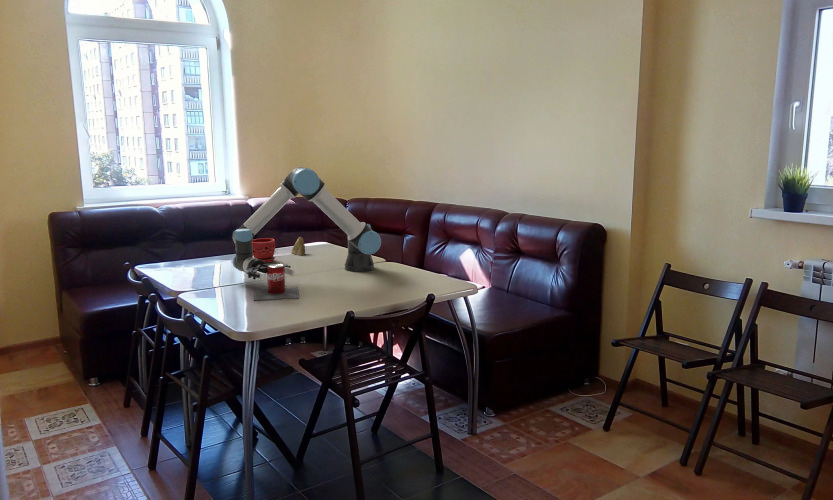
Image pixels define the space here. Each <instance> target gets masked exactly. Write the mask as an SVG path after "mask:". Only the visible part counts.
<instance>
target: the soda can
mask: <svg viewBox="0 0 833 500" xmlns="http://www.w3.org/2000/svg"><path fill="white" fill-rule="evenodd" d="M267 265H268V267H267V273H266V279H267V289H268V293H269V294H271V295H280V294H284V293H285V288H286V277H285V275H286V274H285V267H284V265H285V264H282V263H280V264H279V263H272V264H267Z"/></svg>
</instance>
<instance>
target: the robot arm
mask: <svg viewBox="0 0 833 500" xmlns="http://www.w3.org/2000/svg"><path fill="white" fill-rule="evenodd" d="M298 195H301V197H303V199H305V200H306V202H312V203H313V204H314V205H316V207H318V209H320V210H321V211H322V212H323V213H324V214H325V215H326V216H328V219H331V221H332V222H333V223H334V224H335V225H337V226H338V227H339V229H341V230H342V231H343V232H344V234H346V235H347V256H346V259H345V261H344V270H346V271H348V272H369V271H373V270H374V269H375V262H374V259H373V256H372V255H375V254H376V252H378V251H379V250H380V248H381V245H382V239H381V236H380V235H379V233H378V232H376V231H374V230H373V229H372V226H371V224H369V223H366V222H364V221H362V222H361V221H359V220H358V218H357V217H355V215H353V214H352V213H351V212H350V211H349V210H348V209H347V208H346V207H345V206H344V205H343V204H342V203H341V202H340V201H339V200H338V199H337V198H336V197H335V196H333V194H332V193H331V192H330V191H328V189H326V183H325V182H324V181H323V180H322V179H321V178H320V177H319V175H318V173H317V172H316V171H315V170H313V169H311V168H308V167H302V166H301V167H299V166H298V167H295V168H293V169H292V170H291V171H290V172H289V173H288V174H287V176H286V177H285V178H284V179H283V180H282V181H281V182H280V183H279V187H278V188H277V189H276V190H275V191H274V192H273V193H272V194H271V195H270V196H269V197H268V198H267V199H266V201H264V202H263V203H262V204H261V206H259V207H258V208H257V210H256V211H255V212H253V214H251V215H250V217H249V218H248V219H247V220H246V221H245V222H243V224H242V225H240V226H239V228H237V229H236V230H234V231H233V232H232V236H231V237H232V241H233V243H234V245H235V255H234V256H233V259H232V266H233V267H234V268H235V269H236V270H238V271H239V272H244V273H246V274H247V278H248V279H251V278H252V280H256V279H259V280H261V281H266V279H267V278H266V274H267V267H268V265H269V264H268V263H265V262H264V261H262V260H260V259H257V258H254V257H253V249H252V240H253V239H254V237H255V235H257V234H258V232H260V231H261V229H262V228H264V227H265V225H266V224H267V223H269V221H271V219H273V217H275V215H276V214H277V213H279V211H280V210H281V209H282V208H283V207H284V206H285V205H286V204H287V203H288V202H289V201H290V200H291V199H295V198H296V197H297V196H298ZM283 265H284V267H285V275H288V276H292V277H293V276H295V270H294V269H293V268H292V267H291V265H288V264H286V265H285V264H283Z"/></svg>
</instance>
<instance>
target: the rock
mask: <svg viewBox="0 0 833 500" xmlns="http://www.w3.org/2000/svg"><path fill="white" fill-rule="evenodd" d="M305 246H306V245H305V242H304V238H303V237H301V236H298V237H297V240H296V241H295V243H294V245H293V247H292V248H291V252H290V253H291V254H293V255H296V256H297V255H299V256H305V255H306V247H305Z"/></svg>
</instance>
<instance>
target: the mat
mask: <svg viewBox="0 0 833 500" xmlns="http://www.w3.org/2000/svg"><path fill="white" fill-rule="evenodd" d="M283 299H288V300H299V299H300V298H299V287H298V286H297V287H285V293H284V294H280V295H271V294H269V293H268V288H256V289H255V291H254V298H253V301H254V302H262V301H261V300H265V301H282V300H283Z"/></svg>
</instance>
